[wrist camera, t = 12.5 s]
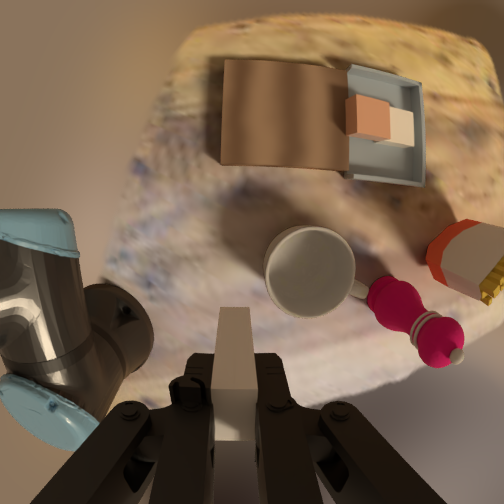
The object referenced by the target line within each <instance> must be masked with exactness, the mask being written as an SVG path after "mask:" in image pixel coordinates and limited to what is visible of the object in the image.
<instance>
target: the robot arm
mask: <svg viewBox="0 0 504 504" xmlns="http://www.w3.org/2000/svg"><path fill="white" fill-rule="evenodd" d="M79 257H80V252H79V251H78V249H77V244H76V237H75V231H74V224H73V221H72V218H71V217H70V215H69V214H68V213H67V212H65V211H63V210H61V209H0V354H1V357H2V359H3V362H4V365H5V367H6V370H7V374H4V375H3V376H2V377H1V378H0V399H1V401H2V402H3V404H4V406H5V408H6V409H7V410H8V412H9V413H10V414H11V415H12V417H13V418H14V419H15V420H16V421H17V422H18V423H19V424H20V425H21V426H23V427H24V428H25V429H26V430H27V431H29V432H30V433H31V434H33V435H34V436H36V437H37V438H39V439H40V440H42V441H44V442H46V443H48V444H50V445H52V446H55V447H57V448H60V449H63V450H67V451H75V452H74V454H73V455H72V456H71V457H70V458H69V459H68V460H67V462H66V463H65V464H64V465H63V466H62V467H61V468H60V469H59V471H58V472H57V473H56V474H55V475H54V476H53V477H52V479H51V480H50V481H49V482H48V483H47V484H46V486H45V487H44V488H43V489H42V490H41V491H40V493H39V494H38V495H37V496H36V497H35V498H34V499H33V500H32V502H31V503H30V504H138V503H139V501H140V499H141V498H142V496H143V494H144V493H145V491H146V489H147V487H148V486H149V484H150V482H151V481H152V479H153V477H154V481H153V486H152V490H151V495H150V500H149V504H213V491H214V468H215V444H214V443H215V440H235V441H236V440H237V441H238V440H239V441H243V440H255V439H256V449H255V462H256V465H257V478H258V490H259V501H260V504H323V500H322V496H321V492H320V489H319V485H318V481H317V477H316V473H317V475H318V477H319V478H320V480H321V481H322V483H323V484H324V486H325V488H326V489H327V491H328V492H329V494H330V495H331V497H332V498H333V500H334V501H335V503H336V504H447V503H446V502H445V501H444V500H443V499H442V498H441V497H440V496H439V495H438V494H437V493H436V492H435V491H434V490H433V489H432V488H431V487H430V486H429V485H428V484H427V483H426V482H425V481H424V480H423V479H422V478H421V477H420V475H418V473H417V472H416V471H415V470H414V469H413V468H412V467H411V466H410V465H409V464H408V463H407V462H406V461H405V460H404V459H403V458H402V457H401V456H400V454H399V453H398V452H397V451H396V450H395V449H394V448H393V447H392V446H391V445H390V444H389V443H388V442H387V441H386V440H385V439H384V437H382V435H381V434H380V433H379V432H378V431H377V430H376V429H375V428H374V427H373V426H372V424H371V423H370V422H369V421H368V420H367V419H366V418H365V417H364V416H363V415H362V413H361V412H360V411H359V410H358V409H357V408H356V407H355V406H353V405H352V404H350V403H347V402H342V401H335V402H330V403H328V404H326V405H324V407H323V408H322V409H321V410H316V409H310V408H305V407H302V406H300V405H298V404H297V403H296V401H295V400H294V399H293V398H292V397H291V395H290V391H289V387H288V383H287V379H286V375H285V371H284V368H283V363H282V359H281V358H280V357H279V356H278V355H277V354H276V353H254V348H253V338H252V329H251V319H250V309H249V307H220V313H219V321H218V329H217V338H216V346H215V354H205V353H194V354H193V355H192V356H190V357H189V358H188V360H187V364H186V368H185V372H184V375H183V376H180V377H177V378H175V379H174V380H172V381H171V383H170V384H169V391H170V397H171V402H172V404H171V405H170V406H167V407H164V408H160V409H152V410H149V409H148V408H147V407H146V405H145V404H143V403H141V402H138V401H124V402H122V403H119V404H117V405H116V406H115V407H114V408H113V409H112V410H111V411H110V412H109V413H108V415H107V416H106V414H107V412H108V410H109V408H110V406H111V404H112V402H113V400H114V398H115V396H116V394H117V392H118V390H119V388H120V386H121V384H122V382H123V380H124V379H125V378H126V377H127V376H129V374H130V373H133V372H135V371H136V370H138V369H139V368H140V367H142V365H143V364H144V363H145V362H146V360H147V359H148V357H149V354H150V352H151V350H152V347H153V343H154V332H153V327H152V324H151V321H150V319H149V317H148V315H147V313H146V311H145V310H144V308H143V307H142V306H141V305H140V303H139V302H138V301H137V300H136V299H135V298H134V297H132V296H131V295H130V294H129V293H127V292H126V291H124V290H122V289H120V288H118V287H115V286H112V285H109V284H93V285H89V286H87V287H85V288H83V283H82V277H81V271H80V264H79ZM105 416H106V417H105ZM315 472H316V473H315ZM154 475H155V476H154Z"/></svg>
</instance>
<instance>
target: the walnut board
mask: <svg viewBox="0 0 504 504" xmlns="http://www.w3.org/2000/svg"><path fill="white" fill-rule="evenodd" d="M348 98H349V96H348V76H347V71H345V70H340V69H334V68H328V67H322V66H315V65H307V64H299V63H289V62H278V61H263V60H225V65H224V83H223V105H222V131H221V165H222V166H266V167H288V168H305V169H319V170H331V171H349V136H346V108H345V100H346V99H348Z"/></svg>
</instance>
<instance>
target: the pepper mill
mask: <svg viewBox="0 0 504 504" xmlns="http://www.w3.org/2000/svg"><path fill="white" fill-rule="evenodd" d="M367 303H368V306H369V308H370V309H371V310H372V311H373V312H374V313H375V316H376V319H377V320H378V322H379V323H380V324H381V325H383V326H384V327H386V328H387V329H390V330H393V331H400V332H405V333H407V334H408V335H409V336H410V341H411V343H412V345H413V346H415V347H416V349H418V353H419V356H420V358H421V359H422V360H423V362H424V363H425V364H427V365H428V366H430V367H434V368H441V367H445V366H447V365H449V364H451V363H453V364H459V363H461V362H462V361H463V359H464V352H463V350H462V348H463V345H464V332H463V329H462V327H461V326H460V324H459V323H458V322H457V321H456V320H454V319H452V318H450V317H443V316H442V315H440V314H439V313H438V312H436V311H427V310H426V309H425V308H424V306H423V304H422V300H421V297H420V295H419V293H418V292H417V290H416V289H415V288H414V287H413V286H412V285H411V284H409V283H408V282H405V281H399V280H397V279H396V278H394V277H391V276H384V277H381V278H379V279H378V280H377V281H375V282H374V283H373V284H372V286H371V287H370V289H369V292H368V295H367Z"/></svg>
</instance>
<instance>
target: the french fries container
mask: <svg viewBox="0 0 504 504" xmlns="http://www.w3.org/2000/svg"><path fill="white" fill-rule="evenodd" d="M426 262H427V264H428V266H429V268H430V271H431V273H432V275H433V278H434V279H435V280H437V281H438V282H440V283H442V284H444V285H446V286H447V287H449V288H452V289H454V290H456V291H459V292H461V293H463V294H465V295H468V296H470V297H472V298H474V299H477V300H481V301H482V302H483V303H485V304H486V305H487V306H489V305H490V304H491V303H492V297H493V298H495V297H496V296H497V295H498V294H499V292H500V291H502V290H503V288H504V228H502V227H498V226H494V225H490V224H486V223H482V222H478V221H474V220H469V219H465V220H462V221H460V222H457V223H455V224H452V225H450V226H448V227H447V228H446V229H445V230H444V231H443V232H442V233H441V234H440V235H439V236H438V237H437V238H436V239H434V240H433V241H432V242H431V243H430V244H429V245H428V249H427V255H426ZM499 290H500V291H499ZM489 295H490V296H489ZM491 296H492V297H491Z"/></svg>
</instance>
